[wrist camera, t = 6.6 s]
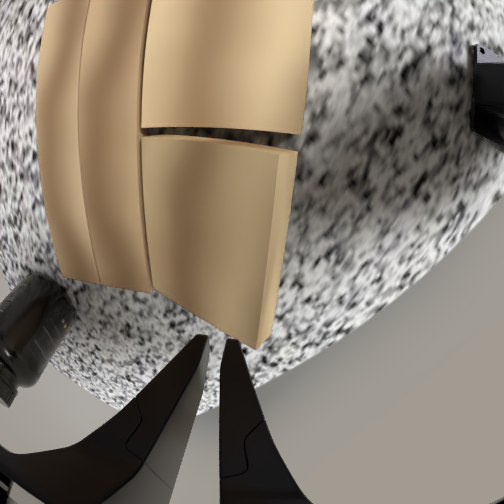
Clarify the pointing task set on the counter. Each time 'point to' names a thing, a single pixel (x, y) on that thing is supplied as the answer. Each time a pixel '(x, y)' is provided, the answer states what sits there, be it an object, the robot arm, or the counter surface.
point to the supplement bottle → (31, 331)
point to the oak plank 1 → (227, 64)
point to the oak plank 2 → (218, 227)
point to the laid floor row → (94, 139)
